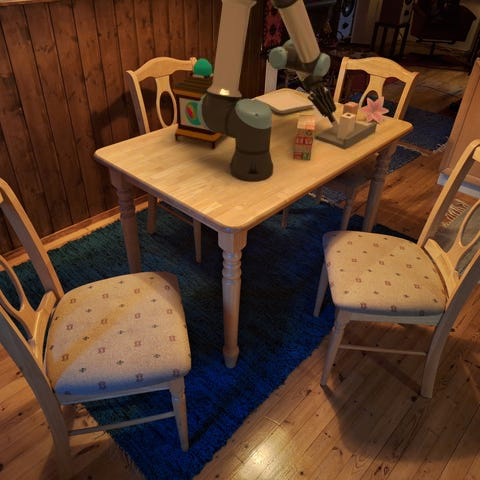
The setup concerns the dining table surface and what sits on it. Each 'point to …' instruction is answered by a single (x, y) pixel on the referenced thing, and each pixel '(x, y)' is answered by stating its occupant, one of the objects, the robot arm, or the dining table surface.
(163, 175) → the dining table surface
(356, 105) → the key two
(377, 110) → the lily
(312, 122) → the stack of blocks
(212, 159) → the dining table surface
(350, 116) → the key one
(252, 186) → the dining table surface
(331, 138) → the tray
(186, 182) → the dining table surface
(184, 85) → the decorative lantern
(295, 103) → the salad plate
